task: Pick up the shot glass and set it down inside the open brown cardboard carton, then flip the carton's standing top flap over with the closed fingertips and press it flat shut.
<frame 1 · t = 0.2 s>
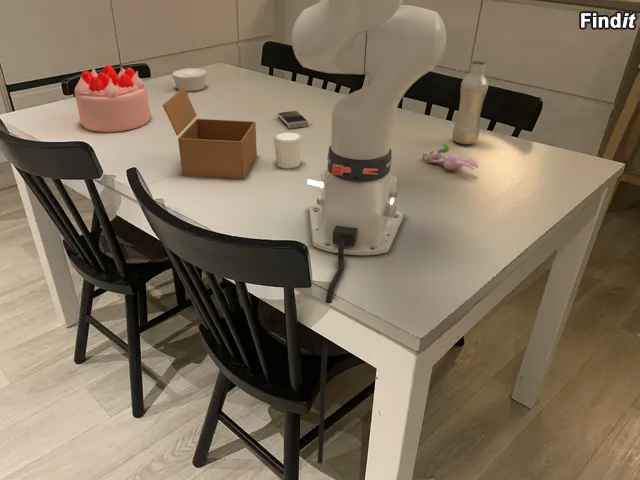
ramekin: (191, 88, 191), on the table
pink elongated figure: (448, 169, 133), on the table
cell phone: (292, 122, 161), on the table
cake: (116, 122, 163), on the table
plastic bottle: (463, 143, 147), on the table
flap: (180, 110, 130), point 13 cm above the table, hinge at 110.0°
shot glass: (288, 164, 136), on the table
carton: (220, 165, 136), on the table
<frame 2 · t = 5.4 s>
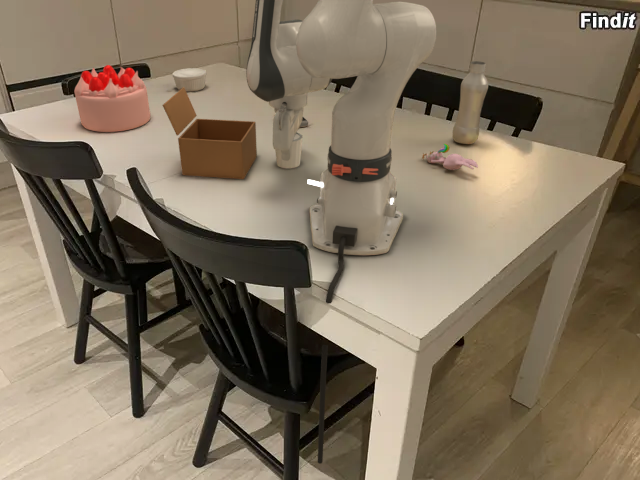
hand: (288, 154, 135), 2 cm above the table, tool pointing down, fingers closed on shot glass, 5 cm apart
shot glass: (288, 164, 136), on the table, touching gripper
everything else where it was.
when the fingers open (3 cm above the table, at t = 13.5 s): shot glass stays where it is, resting on carton.
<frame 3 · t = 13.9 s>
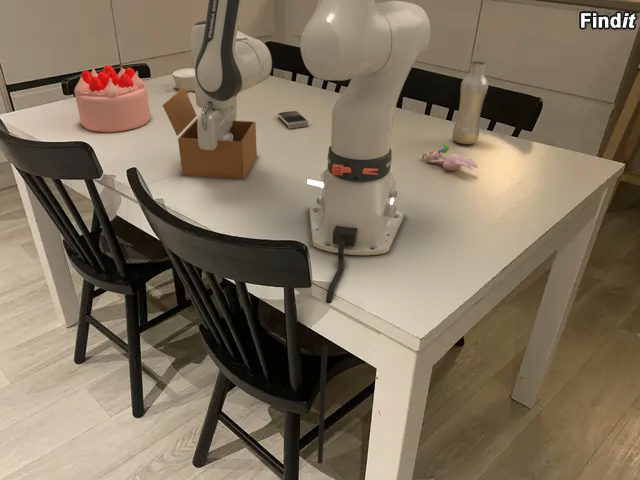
hand: (220, 154, 134), 3 cm above the table, tool pointing down, fingers open, 8 cm apart
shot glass: (220, 164, 136), resting on carton
everything else where it was.
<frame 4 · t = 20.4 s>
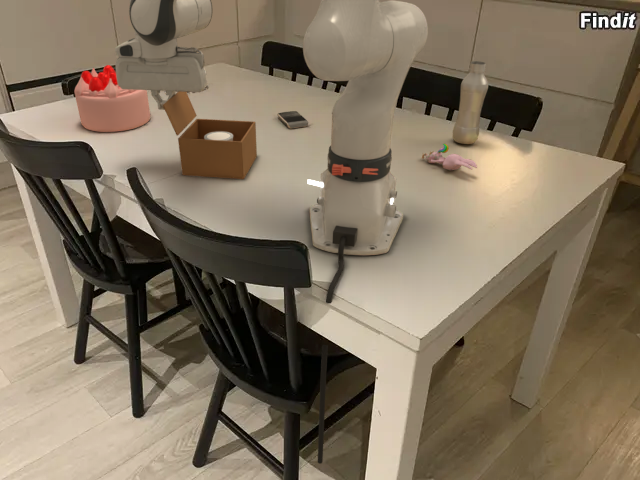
hand: (165, 109, 130), 13 cm above the table, tool pointing down, fingers closed
flap: (180, 110, 130), point 13 cm above the table, hinge at 109.8°, touching gripper
everything else where it was.
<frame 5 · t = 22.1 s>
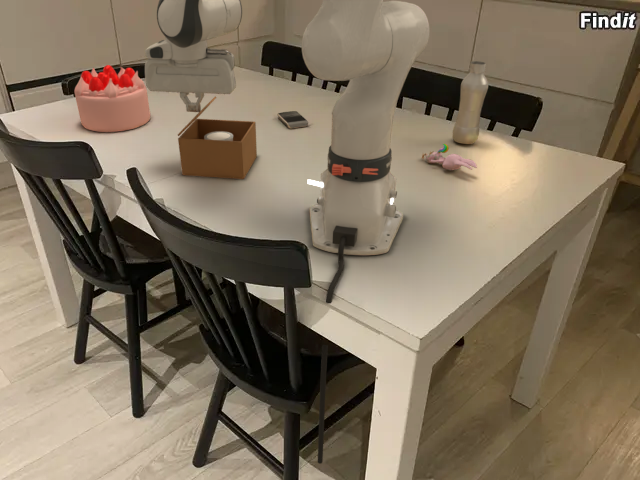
hand: (193, 111, 129), 13 cm above the table, tool pointing down, fingers closed
flap: (197, 115, 130), point 12 cm above the table, hinge at 42.5°
everything else where it was.
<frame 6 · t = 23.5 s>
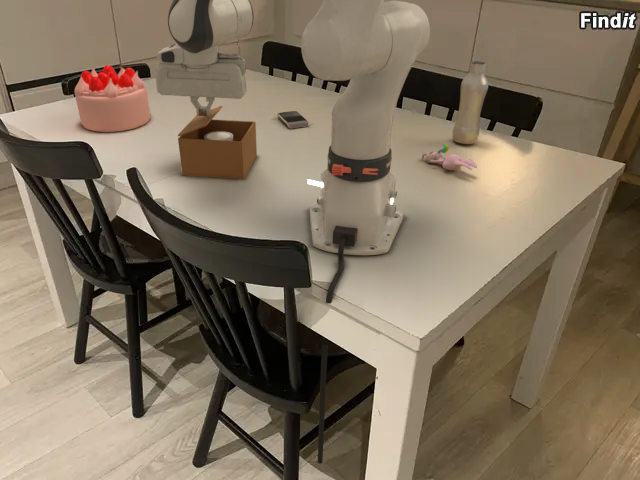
hand: (204, 115, 129), 12 cm above the table, tool pointing down, fingers closed
flap: (200, 120, 130), point 11 cm above the table, hinge at 22.1°, touching gripper
everything else where it was.
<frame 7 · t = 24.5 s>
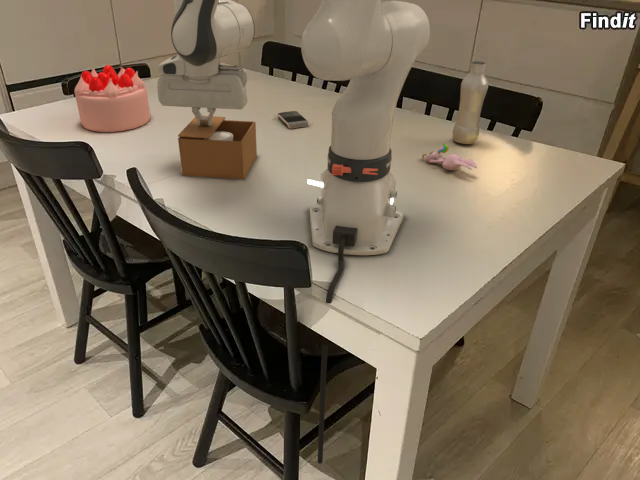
hand: (205, 125, 131), 10 cm above the table, tool pointing down, fingers closed, pressing on flap
flap: (202, 126, 131), point 9 cm above the table, hinge at -0.1°, touching gripper
everything else where it was.
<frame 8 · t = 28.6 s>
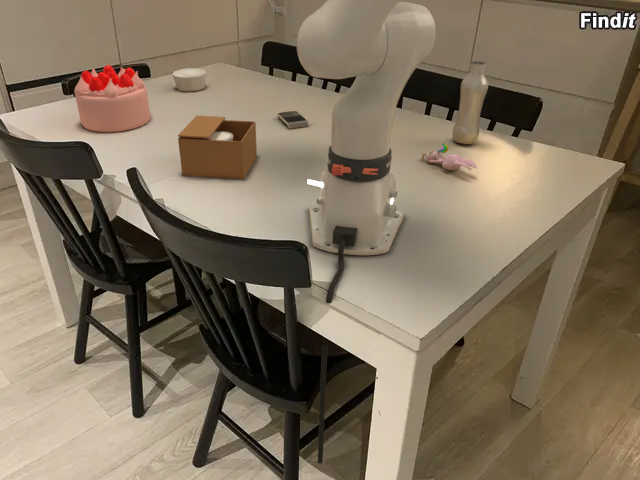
hand: (279, 15, 129), 31 cm above the table, tool pointing down, fingers closed
flap: (202, 126, 131), point 9 cm above the table, hinge at -0.1°
everything else where it was.
at the end: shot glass inside the target area in the carton (0.1 cm from its centre), point 0.2 cm above the carton's base; flap at +0° (first picture: +110°) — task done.
